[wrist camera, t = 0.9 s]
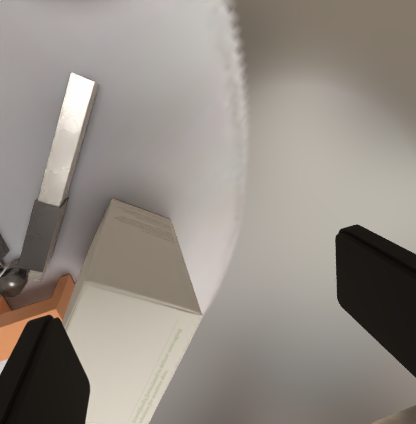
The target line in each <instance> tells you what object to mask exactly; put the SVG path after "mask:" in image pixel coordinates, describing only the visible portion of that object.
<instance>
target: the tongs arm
mask: <svg viewBox="0 0 416 424" xmlns="http://www.w3.org/2000/svg"><path fill="white" fill-rule="evenodd" d="M98 86H99V85H98V84H96V83H95V82H93V81H91V80H88V79H86V78H83V77H81V76H79V75H76V74H74V73H72V72H71V75H70V78H69V82H68V86H67V90H66V94H65V98H64V101H63V105H62V109H61V113H60V117H59V121H58V124H57V128H56V132H55V136H54V140H53V144H52V147H51V151H50V155H49V159H48V163H47V167H46V170H45V174H44V178H43V182H42V186H41V190H40V193H39V197H38V199H37V200H35V202H34V206H33V210H32V214H31V218H30V222H29V225H28V229H27V233H26V237H25V241H24V245H23V249H22V253H21V256H20V260H19V264H18V268H22V269H27V270H30V273H29V276H28V280H32V281H38V282H41V280H42V278H43V276H44V274H45V272H46V271H47V267H48V264H49V261H50V259H51V257H52V254H53V251H54V247H55V244H56V240H57V237H58V233H59V230H60V226H61V223H62V219H63V216H64V212H65V209H66V205H67V202H68V198H67V195H68V191H69V188H70V184H71V181H72V177H73V174H74V170H75V167H76V163H77V160H78V156H79V153H80V149H81V146H82V142H83V139H84V135H85V132H86V128H87V124H88V121H89V117H90V114H91V110H92V107H93V103H94V100H95V96H96V93H97V89H98Z"/></svg>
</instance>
